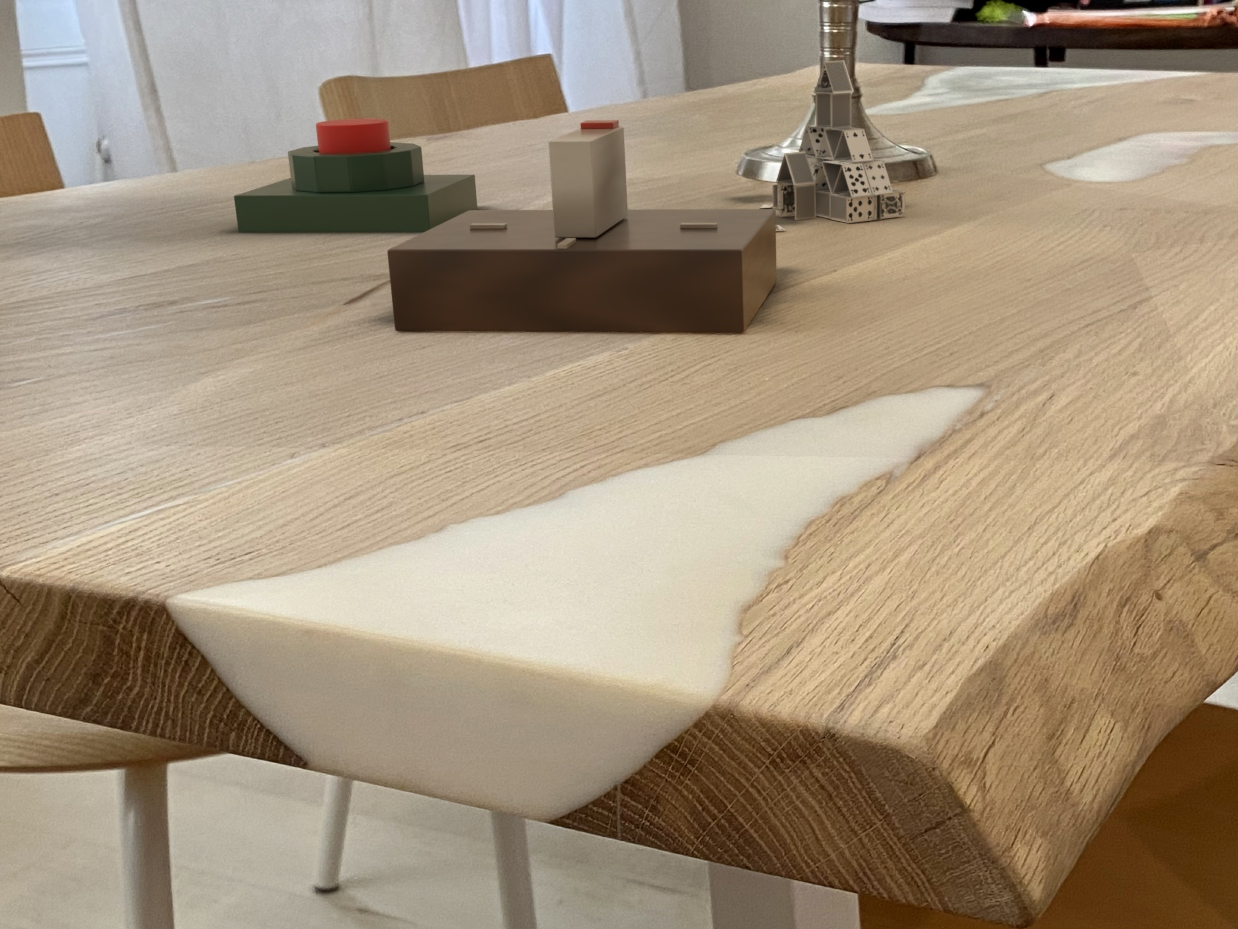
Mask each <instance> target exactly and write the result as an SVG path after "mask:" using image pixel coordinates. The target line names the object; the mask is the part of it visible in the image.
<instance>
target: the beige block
mask: <svg viewBox="0 0 1238 929" xmlns="http://www.w3.org/2000/svg"><path fill="white" fill-rule="evenodd" d="M579 124H580V128H578V129H576V130H572V131H570V132H568V133H565V134H563V135H561V136H557V137H556V138H553V139H551V140H549V141H548V155H549V156H548V157H549V167H550V168H549V173H550V186H551V202H552V210H553V219H554V235H555V237H556V238H596V237H598V236H599V235H600V234H602V233H603V232H605V231H606V230H608V229H609V228H611V227H612V226H614V225H615V224H616V223H618V222H619V221H621V220H622V219H624V218H625V217H627V216H628V210H629V209H628V188H627V168H626V146H625V145H626V144H625V127H624V126H623V125H620V121H619V119H616V120H615V119H605V120H604V119H603V120H601V119H600V120H598V119H597V120H584V121H582V122H580V123H579Z"/></svg>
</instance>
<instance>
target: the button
mask: <svg viewBox="0 0 1238 929" xmlns="http://www.w3.org/2000/svg"><path fill="white" fill-rule="evenodd" d="M315 131H316V139H317V146H318V149H319V153H363V152H376V151H384V150H391V146H390V142H391V137H390V127H389V120H387V119H383V118H349V119H348V118H346V119H345V118H344V119H332V120H324V121H319V122H316V123H315Z"/></svg>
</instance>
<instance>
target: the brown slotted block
mask: <svg viewBox="0 0 1238 929" xmlns="http://www.w3.org/2000/svg"><path fill="white" fill-rule="evenodd" d="M776 220H777V219H776V210H775V209H773V208H720V209H719V208H716V209H715V208H711V209H709V208H708V209H707V208H706V209H705V208H704V209H702V208H700V209H699V208H698V209H690V208H687V209H686V208H685V209H681V208H680V209H673V208H672V209H670V208H669V209H668V208H667V209H628V216H627V217H625V218H624V219H622V220H621V221H619V222H618V223H616V224H615V225H614V226H612V227H611V228H609V229H608V230H606V231H605V232H603V233H602V234H600V235H599V236H598V237H596V238H556V237H555V235H554V219H553V209H477V210H469V211H467V212H465V213H463V214H461V215H458V216H456V217H454V218H452V219H450V220H448V221H446V222H444V223H442V224H440V225H438V226H436V227H434V228H432V229H430V230H428V231H426V232H420V233H419V234H417V235H415V236H414V237H411V238H408V239H407V240H405V241H403V242H401V243H399V244H397V245H395V246H393V247H390V248H389V249H387V251H386V252H387V253H386V254H387V263H388V274H389V284H390V291H391V292H390V294H391V302H392V313H393V314H392V315H393V323H394V330H395V331H396V332H481V333H482V332H485V333H486V332H489V333H492V332H493V333H494V332H495V333H497V332H498V333H503V332H504V333H505V332H506V333H633V334H635V333H636V334H637V333H643V334H644V333H645V334H647V333H649V334H650V333H651V334H652V333H653V334H655V333H656V334H743V333H745V332H746V330H747V328H748V326H749V325H750V324H751V322H752V320H753V318H754V317H755V315H756V314H757V312H758V311H759V309H760V308H761V306H762V304H763V303H764V301H765V300H766V298H767V297H768V295H770V292H771V290H772V289H773V287H774V286H775V285H776V283H777V281H778V279H777V278H778V274H777V272H778V271H777V231H776V225H777V224H776V223H777V221H776Z"/></svg>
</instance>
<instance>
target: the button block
mask: <svg viewBox="0 0 1238 929" xmlns="http://www.w3.org/2000/svg"><path fill="white" fill-rule="evenodd" d="M390 146H391V150H384V151H376V152H363V153H319V149H318V145H311V146H304V147H303V146H302V147H299V148H296V149H292V150H288V151H287V156H288V165H289V174H290V177H289V178H285V179H282V180H279V181H276V182H272V183H270V184H267V185H264V186H263V185H262V186H260V187H257V188H253V189H249V190H247V191H244V192H240V193H238V194H234V196H233V200H234V208H235V217H236V223H237V231H238V234H256V233H257V234H274V233H275V234H294V233H295V234H307V233H308V234H311V233H312V234H315V233H317V234H318V233H319V234H328V233H329V234H330V233H332V234H334V233H335V234H337V233H340V234H341V233H342V234H347V233H348V234H349V233H350V234H351V233H353V234H354V233H355V234H357V233H365V234H370V233H371V234H372V233H374V234H375V233H377V234H378V233H380V234H381V233H382V234H383V233H389V234H392V233H394V234H395V233H396V234H397V233H406V234H407V233H424V232H426V231H428V230H430V229H432V228H434V227H436V226H438V225H440V224H442V223H444V222H446V221H448V220H450V219H452V218H454V217H456V216H458V215H461V214H463V213H465V212H467V211H469V210H478V198H477V186H476V185H477V184H476V175H475V174H425V172H424V162H423V151H422V146H421V145H418V144H416V143H409V142H396V141H390Z"/></svg>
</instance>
